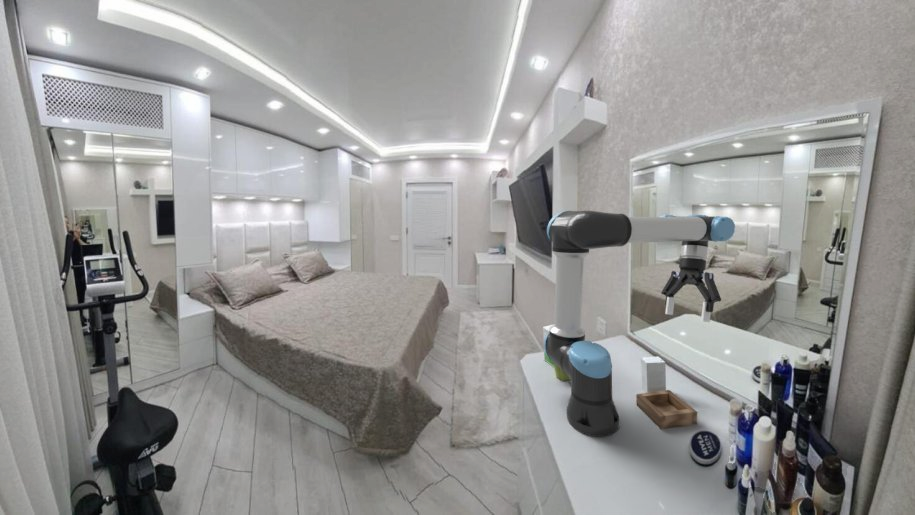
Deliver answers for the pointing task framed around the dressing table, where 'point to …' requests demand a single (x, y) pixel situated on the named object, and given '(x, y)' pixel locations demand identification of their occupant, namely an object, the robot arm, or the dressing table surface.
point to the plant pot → (560, 373)
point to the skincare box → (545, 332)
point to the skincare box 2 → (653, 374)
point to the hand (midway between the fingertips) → (686, 317)
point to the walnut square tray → (666, 409)
